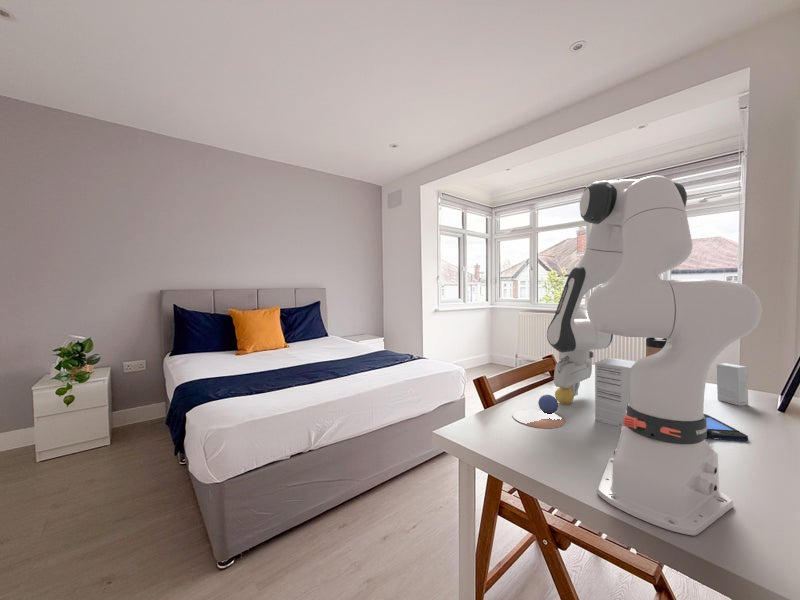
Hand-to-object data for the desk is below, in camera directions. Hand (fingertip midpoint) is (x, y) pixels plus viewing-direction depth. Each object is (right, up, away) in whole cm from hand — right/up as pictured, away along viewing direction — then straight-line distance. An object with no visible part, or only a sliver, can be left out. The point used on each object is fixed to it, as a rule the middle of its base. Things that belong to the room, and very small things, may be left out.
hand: (573, 395), depth 110 cm
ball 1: (-13, +1, -11) cm, 17 cm away
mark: (-18, -2, -14) cm, 23 cm away
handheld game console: (+22, -3, -22) cm, 31 cm away
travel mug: (+29, -1, 0) cm, 29 cm away
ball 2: (-5, +1, -3) cm, 6 cm away
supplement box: (+4, -2, -17) cm, 18 cm away
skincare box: (+49, -1, -4) cm, 49 cm away
